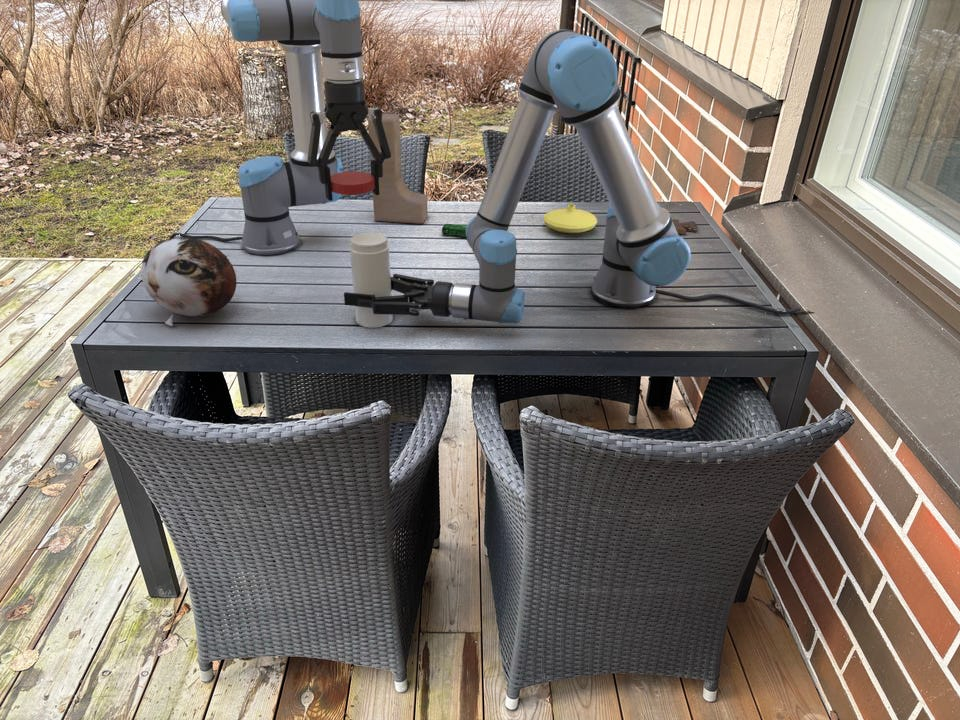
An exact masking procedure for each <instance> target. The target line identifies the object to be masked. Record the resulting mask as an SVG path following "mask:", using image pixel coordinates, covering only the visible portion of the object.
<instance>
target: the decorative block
mask: <svg viewBox="0 0 960 720" xmlns="http://www.w3.org/2000/svg"><path fill="white" fill-rule="evenodd" d="M382 124H383V128H384V131H385V135H386V138H387V142H388V146H389V149H390V153H391V157H390V158H387V159H385V160H384V162H383V163H382V167H383V176H382V177H381V178H379V194H380V195H375V194H374V193H373V192H372V204H373V219H374V221H376V222H388V223H403V224H418V225H420V224H421V225H422V224H424V222H425V220H426V219H427V217H428V213H429V212H428V196H427V194H425V193H420V192H416V191H412V190H411V189H410V188H408V187H407V185H406V183H405V180H404V178H403V171H402V167H403V166H402V146H401V123H400V115H399V114H398V113H383V112H382ZM367 125H368V128H367V129H368V134H369V136H370V137H371V139H372V141H373V143H374V144H375V146H376V148H377V150H378V151H379V153H380V152H381V148H380V145H379V141H378V138H377V134H376V131H375V128H374V124H373V120H372V119H371V118H370V117H368V119H367ZM369 156H370V160H374V157H373V156H372V154H371V152H370V151H369ZM374 161H375V160H374Z"/></svg>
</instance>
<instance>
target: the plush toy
mask: <svg viewBox="0 0 960 720" xmlns="http://www.w3.org/2000/svg"><path fill="white" fill-rule="evenodd" d="M140 276H141V281H142V284H143V287H144V289H145V290H146V292H147V294H148V295H149V296H150V297H151V298H152V300H154V301H155V302H156V303H157V304H158V305H159V306H161V307H162V308H164V309H166V310H167V311H170V312H172V314H171V316H170V317H169V318H168V319H167V320H166V321H164V324H165V325H168V326H170V327H173V326H174V323H173V322H174V321H173V318H174V314H177V315H180V316H185V317H186V316H187V317H203V316H208V315H212V314H215V313H218V312H219V311H220V310H223V309H224V308H225V307H227V305H228V304H229V303H230V302H231V300H232V299H233V297H234V295H235V294H236V290H237V283H238V281H237V274H236V270H235V267H234V266H233V264H232V262H231V261H230V259H229V258H228V255H225V254H224V253H223V252H222V250H220V249H219V248H217V247H216V246H215V245H213V244H211V243H209V242H207V241H204V240H203V239H195V238H188V237H181V236H175V237H174V238H170V239H169V238H166V239H164V240H161V241H160V242H158V243H156V244H155V245H152V247H150V249H148V251H147V253H146V254H145V255H144V257H143V259H142V262H141V266H140Z"/></svg>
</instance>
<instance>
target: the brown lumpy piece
mask: <svg viewBox="0 0 960 720" xmlns="http://www.w3.org/2000/svg"><path fill="white" fill-rule="evenodd" d="M672 221H673V223H674V226H675V228H676V231H677V233H678V234H682V235H683V234H685V233H687V231H689V232H694V233H696V232H697V231H698V229H697V228H698V227H697V223H696V221H692V220H691V221H686V222H685V221H684V222H680V219H673V218H672ZM689 228H691V229H689ZM694 229H697V230H694Z"/></svg>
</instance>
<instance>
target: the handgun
mask: <svg viewBox="0 0 960 720" xmlns="http://www.w3.org/2000/svg"><path fill="white" fill-rule="evenodd" d="M466 228H467V225H459V224H453V223H445V224H443V226H442V227H441V235H446V236H454V237H462V238H467V236H466Z"/></svg>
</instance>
